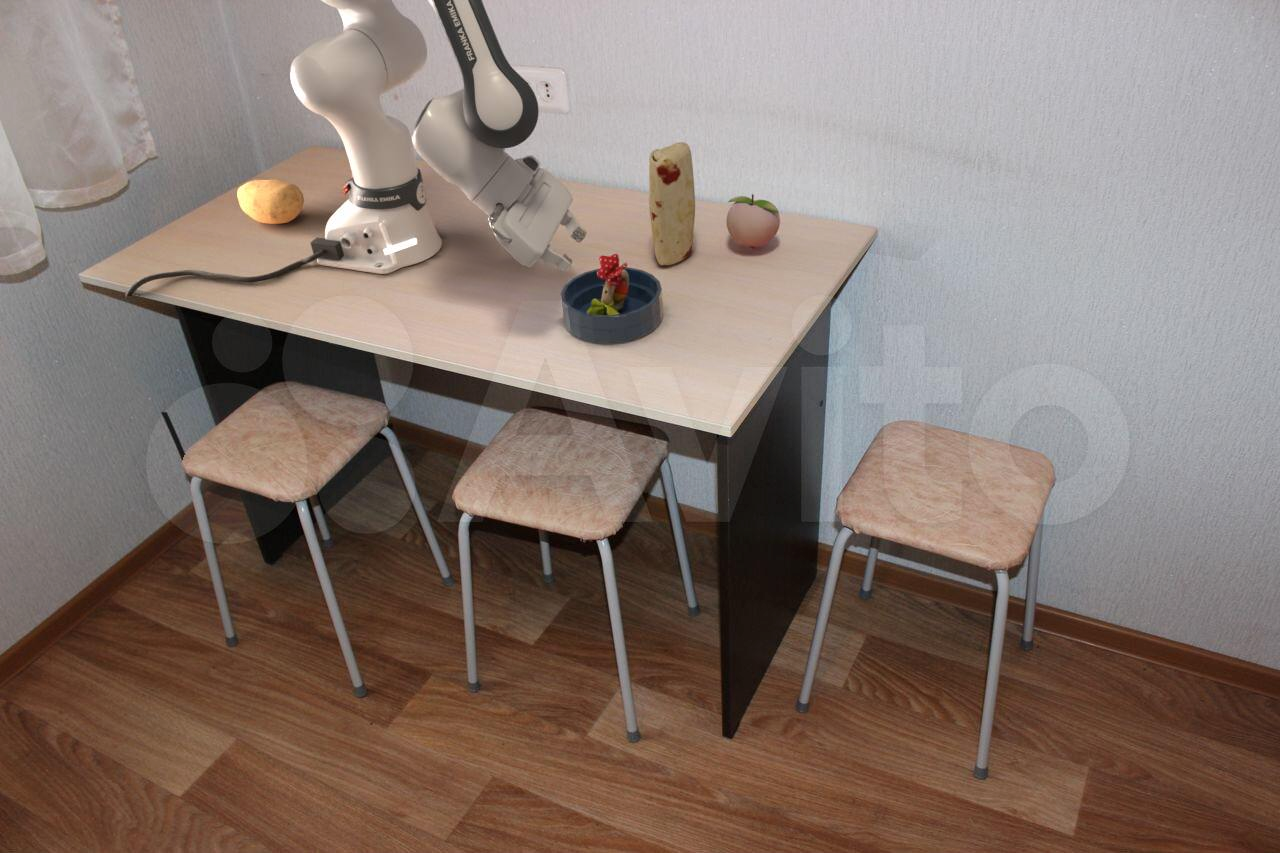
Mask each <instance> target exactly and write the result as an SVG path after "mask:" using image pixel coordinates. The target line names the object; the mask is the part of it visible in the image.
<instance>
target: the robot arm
mask: <svg viewBox="0 0 1280 853" xmlns="http://www.w3.org/2000/svg"><path fill="white" fill-rule="evenodd" d="M320 1H321V2H322V3H324V4H326V5H328V6H330V7H333V8H335V9H336V10H337V11H338V13H339V15H340V17H341V20H342V25H343V30H342V31H340V32H337V33H336V34H335V33H334V34H333V35H330V36H328V37H325V38H323V39H320V40H317V41H315V42H313V43H312V44H310V46H308V47H307V48H305V49H304V50H303V51H302V52H301V53H300V54H298V55H297V56H296V57H294V59H293V60H292V62H291V65H290V70H289V72H290V73H289V77H290V83H291V87H292V90H293V92H294V94H295V96H296V98H297V99H298V100H299V102H300V103H301V104H302V105H303V106H305V108H306V109H308V110H309V111H311V112H312V113H314V114H317V115H319V116H321V117H323V118H325V119H326V120H328V122H329V123H330V124H331V125H332V126H333V127H334V129H335V130H336V131H337V133H338V135H339V137H340V138H341V141H342V143H343V146H344V149H345V153H346V156H347V159H348V162H349V167H350V170H351V178H349V179H348V180H347V181H346V182H345V185H344V186H343V187H342V189H341V191H343V193H342V194H343V196H346V195H347V194H348V199H347V200H346V201H345V202H344V203H343V204H341V206H340V207H339V208H338V209H337V210H336V211H335V212H334V213H333V214H332V215H331V216H330V217H329V219H328V221H327V222H326V225H325V229H324V237H318V236H317V237H315V238H314V239H313V240H311V241H310V243H309V244H310V247H311V251H312V255H310V256H307V257H305V258H303V259H300V260H298V261H294V262H293V263H291V264H289V265H286V266H284V267H282V268H279V269H278V270H275V271H273V272H270V273H265V274H261V275H256V276H241V275H233V274H225V273H214V272H210V271H209V272H208V271H203V270H197V269H183V270H182V269H181V270H175V271H174V270H173V271H167V272H160V273H154V274H150V275H147V276H145V277H144V276H143V277H142V278H140V279H138V280H137V281H135V283H133V284H132V285H131V286H130V287H129V289H127V292H126V293H125V297H131V296H133V295H134V293H135V292H137V290H138V289H139V288H140V287H142V286H143V285H146V284H147V283H150V282H152V281H157V280H161V279H168V278H169V279H170V278H177V277H183V276H195V277H201V278H207V279H211V280H212V279H213V280H221V281H230V282H236V283H258V282H263V281H268V280H272V279H274V278H277V277H280V276H282V275H284V274H287V273H289V272H291V271H293V270H295V269H297V268H300V267H302V266H304V265H307V264H310V263H311V262H314V261H316V263H317V264H318V265H320V266H324V267H332V268H339V269H344V270H352V271H359V272H366V273H371V274H372V273H373V274H379V275H388V274H391V273H393V272H395V271H397V270H399V269H402V268H405V267H408V266H413V265H416V264H419V263H422V262H424V261H426V260H428V259H430V258H432V257H434V256H436V254H437V253H438V252H439V251H440V250H441V248H442V246H443V240H442V238H441V237H440V235H439V233H438V231H437V229H436V227H435V224H434V221H433V219H432V217H431V214H430V211H429V208H428V205H427V194H426V187H425V184H424V180H423V175H422V172H421V169H420V168H419V167H418V163H417V159H416V154H415V151H416V153H417V154H418V155H419V157H421V159H423V160H424V162H425V163H426V164H427V165H429V166H430V168H431V169H433V171H435V172H436V173H437V174H438V175H439V176H440V177H442V178H443V179H444V180H445V181H446V182H448V183H449V184H452V185H453V186H455V187H457V188H459V189H460V190H461V191H462V192H463V193H464V195H465V196H466V198H467V199H468V200H469V201H470V202H471V203H472V204H474V205H475V207H477V208H478V209H479V210H480V211H482V212H483V213H484V214H486V215H487V216H488V218H487V222H488V224H489V226H490V230H491V231H492V233H493V235H494V237H495V239H496V241H497V242H498V243H499V244H500V245H501V246H502V248H504V250H506V251H507V252H508V253H509V254H510V255H511V256H512V257H513V258H514V259H515V260H516V261H517V262H518V263H520V265H522V266H524V267H528V268H532V267H533V266H535V264H536V263H537V262H538V261H539V260H541V261H542V262H543V263H545V264H549V265H552V266H555V267H557V269H559V270H560V271H561V272H563V273H565V272H567V271H568V270H569V269H570V268H571V266H572V264H573V262H574V261H573V258H571V257H570V256H568V254H566V253H564V254H561V253H559V252H557V251H555V247H553V246H552V245H551V244H550V243H551V241H552V239H553V237H554V236H555V234H556V233H557V230H558V228H559V226H561V227H565V228H566V229H567V230H568V232H569V233H570V237H571V238H572V239H573V240H574V241H575V242H576V243H578V244H580V243H581V242H582V241H583V240H584V239H585V238H586V236H587V234H588V233H587V230H586V229H585V228H584V227H582V225H580V223H579V221H578V220H577V218H576V215H575V214H574V213H573V212H572V211H571V210H569V208H570V207H571V205H572V203H573V201H574V197H573V195H572V193H571V192H570V190H569V189H568V188H567V186H565V185H564V184H563V183H562V182H561V181H560V180H559V179H558V178H557V177H556V176H554V175H553V174H552V173H550V172H549V170H547V169H546V168H542V167H541V162H540V161H539V159H537V157H535V156H533V155H532V154H530V155H526V156H524V157H520V158H515V159H514V158H513V157H512V156H511V155H510V154H508V153H507V151H506V149H509V148H510V149H511V148H514V147H517V146H519V145H521V144H522V143H524V142H525V141H526V140H527V139H528V138H530V136H531V135H532V134H533V132H534V130H535V128H536V126H537V123H538V120H539V114H540V113H539V102H538V99H537V96H536V94H535V92H534V90H533V88H532V87H531V85H530V84H529V83H528V82H527V81H526V79H524V78H523V77H522V76H521V75H520V73H518V72H517V71H516V70H515V69H514V68H513V67H512V65H511V64H510V63H509V61H508V60H507V57H506V56H505V54H504V51H503V49H502V47H501V45H500V42H499V40H498V37H497V35H496V32H495V29H494V27H493V25H492V22H491V20H490V18H489V15H488V13H487V10H486V8H485V4H484V1H483V0H426V1H427V2H428V4H429V5H430V6H431V8H432V9H433V11H434V13H435V15H436V17H437V18H438V20H439V22H440V25H441V27H442V29H443V33H444V34H445V37H446V39H447V42H448V45H449V46H450V49H451V52H452V55H453V56H454V59H455V61H456V64H457V67H458V69H459V71H460V75H461V79H462V82H463V88H461V89H460V90H457V91H455V92H453V93H449V94H447V95H444V96H441V97H433V98H431V99H430V100H429V101H428V102H427V103H426V104H425V106H424V108H423V109H422V111H421V113H420V114H419V116H418V117H417V120H416V122H415V124H414V126H413V128H412V132H410V129H409V127H408V126H407V125H406V124H405V123H404V122H403V121H401V120H400V119H399V118H396V117H393V116H391V115H387V114H386V113H385V111H384V109H383V107H382V104H381V95H382V94H385V93H387V92H389V91H391V90H394V89H396V88H398V87H400V86H401V85H405V83H407V82H408V81H410V80H411V79H412V78H413V77H415V76H416V74H418V73H419V72H420V71H421V69H423V68H424V66H425V65H426V62H427V60H428V58H427V57H428V47H427V43H426V39H425V37H424V35H423V33H422V31H421V29H420V27H418V25H417V24H416V23H415V22H414V21H413V20H411V19H410V18H408V16H407V17H406V16H405V15H403V14H402V13H401V12H400V11H399V9H398V8H397V7H396V5H395V4H394V1H393V0H320ZM160 413H161V416H162V418H163V420H164V422H165V425H166V427H167V429H168V431H169V433H170V436H171V438H172V440H173V443H174V445H175V447H176V450H177V452H178V455H179V457H180V459H181V460H180V461H182V460H183V457H184V455H186V453H185V450H184V447H183V446H182V443H181V441H180V439H179V436H178V433H177V432H176V429H175V427H174V425H173V423H172V420H171V418H170V416H169V414H168V412H167V411H160Z"/></svg>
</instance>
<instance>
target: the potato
mask: <svg viewBox="0 0 1280 853" xmlns="http://www.w3.org/2000/svg"><path fill="white" fill-rule="evenodd" d="M236 194H237V196H236V197H237V200H238V203H239V204H238V205H239V206H240V209H241V211H243V212H244V213H245V214H246V215H247V216H248V217H250V218H251V219H252V220H254V221H256V222H259V223H262V224H267V225H268V224H270V225H271V224H273V225H276V224H277V225H279V224H287V223H290V222H291V221H293V220H295V219H296V218H297V217H298V216H299V215H300V213H301V212H302V210H303V207H304V203H305V198H304V194H303V192H302V190H301V189H300V187H299V186H297V185H295V184H294V183H290V182H286V181H284V180H281V179H253V180H250V181H247V182H246V183H244V184H242V185H241V186H240V187H238V189H237V193H236Z"/></svg>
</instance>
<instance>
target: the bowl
mask: <svg viewBox="0 0 1280 853" xmlns="http://www.w3.org/2000/svg"><path fill="white" fill-rule="evenodd" d="M600 268H601V267H599V268H596V269H591V270H588V271H585V272H583V273H580V274H579V275H577V276H575V277H573V278H572V279H570V280H568V282H567V283H566V284H565V285H563V288H562V290H561V292H560V298H561V299H560V300H561V307H562V316H563V321H564V327H565V328H566V330H567V331H568V332H569V333H570V334H571V335H573V336H575V337H576V338H579V339H580V340H583V341H588V342H592V343H597V344H599V343H600V344H615V343H623V342H629V341H632V340H635V339H638V338H642V337H643V336H645V335H647V334H650V333H651V332H653V331H654V330H655V329H656V328H657V327H658V326H659V325H660V324H661V323H662V319H663V316H664V302H663V288H662V285H661V281H660V280H658V278H657V277H655V276H654V275H653V274H652V273H650V272H648V271H646V270H643V269H639V268H633V267H630V266H627V267H626V268H625V269H624V270H626V271H627V273H628V275H629V287H628V294H627V297H626V298H625V301H624V304H623V308H622V309H619V310H618V311H617V312H618V313H620V314H617V315H592V314H588V313H586V312H587V310H588V309H589V308H590V307H591V301H592V300H593V299H597V300H599V302H600V303H601V299H602V293H603V289H604V285H605V283H606V282H605V280H602V279H600V278H599V277H598V275H597V271H598V270H599V269H600Z"/></svg>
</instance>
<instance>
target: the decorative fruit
mask: <svg viewBox="0 0 1280 853" xmlns="http://www.w3.org/2000/svg"><path fill="white" fill-rule="evenodd" d="M754 197H755V195H754V193H752V194H751V198H750V197H748V196H745V195H739V196H735V197H733V198H731V199H728V201H727V203H733V204H732V205H730V207H729V209H728V211H727V213H726V214H727V215H726V228H727V231H728V233H729V235H730V237H731V239H732V240H733V241H735V242H736V243H737V244H739V245H741V246H745V247H749V248H750V249H754V248H759V247H761V246H765V245H767V244H769V243H770V242H771V241H772V240H773V239H774V238H775V236H776V235H777V233H778V231H779V228H780V226H781V217H780V212H779V210H778V208H777V206H776V205H775V204H773V202H770V201H769V200H766V199H756V200H755V199H754Z"/></svg>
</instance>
